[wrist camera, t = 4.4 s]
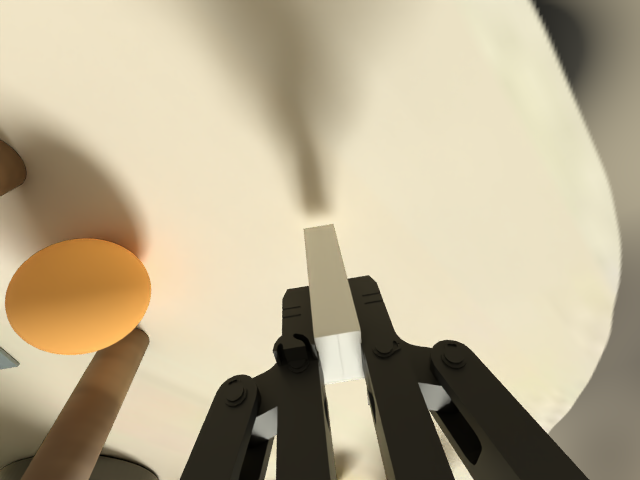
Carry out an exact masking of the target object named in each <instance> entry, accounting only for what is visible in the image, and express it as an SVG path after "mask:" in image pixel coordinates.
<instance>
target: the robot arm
mask: <svg viewBox="0 0 640 480" xmlns="http://www.w3.org/2000/svg"><path fill="white" fill-rule="evenodd" d="M304 238H305V248H306V259H307V269H308V280H309V286H305V287H299V288H293V289H287V291H286V293H285V295H284V297H283V300H282V309H283V311H282V318H283V319H282V336H281V337H279V339H278V340H277V341H276V343H275V344H274V348H273V353H274V356H275V359H276V362H277V363H276V364H275V365H274V366H273V367H272V368H271V369H269V370H268V371H266V372H264V373H262V374H260V375H258V376H256V377H254V378H251V377H250V376H247V375H236V376H233V377H231V378H229V379H227V380H226V381H225V382H224V383H223V384H222V385H221V386H220V388H219V389H218V391H217V393H216V395H215V397H214V400H213V402H212V404H211V407H210V409H209V412H208V414H207V416H206V419H205V421H204V423H203V426H202V428H201V431H200V433H199V435H198V438H197V440H196V442H195V445H194V447H193V450H192V452H191V454H190V457H189V459H188V461H187V464H186V466H185V469H184V471H183V473H182V476H181V478H180V480H264V478H265V474H266V470H267V466H268V461H269V457H270V453H271V449H272V445H273V440H274V436H275V435H277V460H276V480H337V479H336V470H335V462H334V453H333V445H332V436H331V428H330V419H329V411H328V402H327V397H326V392H325V385H327V384H333V383H339V382H345V381H351V380H357V379H363V378H365V380H366V385H367V395H368V405H370V408H371V412H372V416H373V421H374V425H375V430H376V434H377V439H378V443H379V447H380V452H381V456H382V461H383V465H384V469H385V474H386V478H387V480H455V479H454V476H453V473H452V471H451V468H450V466H449V463H448V460H447V458H446V455H445V452H444V450H443V447H442V445H441V442H440V439H439V437H438V434H437V431H436V429H435V426H434V423H433V421H432V418H431V416H430V413H429V411H430V412H431V414H432V415H433V417H434V418H435V420H436V422H437V423H438V425H439V426H440V428H441V429H442V431H443V432H444V434H445V436H446V437H447V439H448V440H449V442H450V443H451V445H452V446H453V448H454V450H455V451H456V453H457V454H458V456H459V457H460V459H461V460H462V462H463V464H464V465H465V467H466V468H467V470H468V471H469V473H470V475H471V476H472V478H473V479H474V480H589V479H588V478H587V477H586V476H585V475H584V474H583V472H582V471H581V470H580V469H579V468H578V467H577V466H576V465H575V464H574V463H573V462H572V460H571V459H570V458H569V457H568V456H567V455H566V454H565V453H564V452H563V450H562V449H561V448H560V447H559V446H558V445H557V444H556V443H555V442H554V441H553V439H552V438H551V437H550V436H549V435H548V434H547V433H546V432H545V431H544V430H543V429H542V427H541V426H540V425H539V424H538V423H537V422H536V421H535V420H534V419H533V418H532V416H531V415H530V414H529V413H528V412H527V411H526V410H525V409H524V408H523V407H522V405H521V404H520V403H519V402H518V401H517V400H516V399H515V398H514V397H513V396H512V394H511V393H510V392H509V391H508V390H507V389H506V388H505V387H504V386H503V385H502V383H501V382H500V381H499V380H498V379H497V378H496V377H495V376H494V375H493V374H492V372H491V371H490V370H489V369H488V368H487V367H486V366H485V365H484V364H483V363H482V362H481V360H480V359H479V358H478V357H477V356H476V355H475V354H474V353H473V352H472V351H471V350H470V349H469V348H468V347H467V346H465V345H464V344H462V343H460V342H457V341H453V340H444V341H439V342H438V343H436V344H435V345H434V346H433V348H428V347H420V346H415V345H411V344H409V343H406V342H405V341H403V340H402V339H400V338H399V336H398V335H397V334H396V332H395V331H394V328H393V326H392V323H391V320H390V318H389V315H388V312H387V309H386V307H385V304H384V302H383V299H382V296H381V294H380V290H379V288H378V285H377V283H376V282H375V281H374V280H373V279H372V278H371V277H370V276H369V275H368V276H362V277H356V278H350V279H347V275H346V271H345V267H344V263H343V259H342V255H341V252H340V248H339V244H338V240H337V236H336V232H335V228H334V224H330V225H324V226H318V227H312V228H306V229H304ZM33 458H34V457H33ZM33 458H28V459H24V460H20V461H17V462H14V463H12V464H10V465H8V466H6V467H4V468H3V469H1V470H0V480H21V478H22V476H23V475H24V473H25V471H26V470H27V468H28V466H29V465H30V463H31V461H32V459H33ZM89 480H158V478H157V477H156V476H155V475H154V474H153V473H151V472H150V471H148V470H147V469H145V468H143V467H141V466H138V465H136V464H133V463H130V462H127V461H123V460H119V459H114V458H109V457H102V456H99V457H98V459H97V462H96V464H95V466H94V468H93V471H92V473H91V475H90V478H89Z"/></svg>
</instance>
